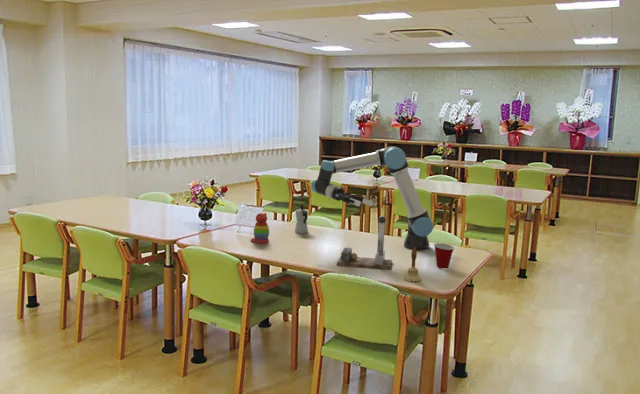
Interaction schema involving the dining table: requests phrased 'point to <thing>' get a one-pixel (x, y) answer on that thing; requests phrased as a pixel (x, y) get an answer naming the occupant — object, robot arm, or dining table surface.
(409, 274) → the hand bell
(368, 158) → the robot arm
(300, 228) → the coffee maker
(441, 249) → the plastic cup
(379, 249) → the grey upright post
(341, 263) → the press base
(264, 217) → the stacking bear
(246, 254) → the dining table surface
